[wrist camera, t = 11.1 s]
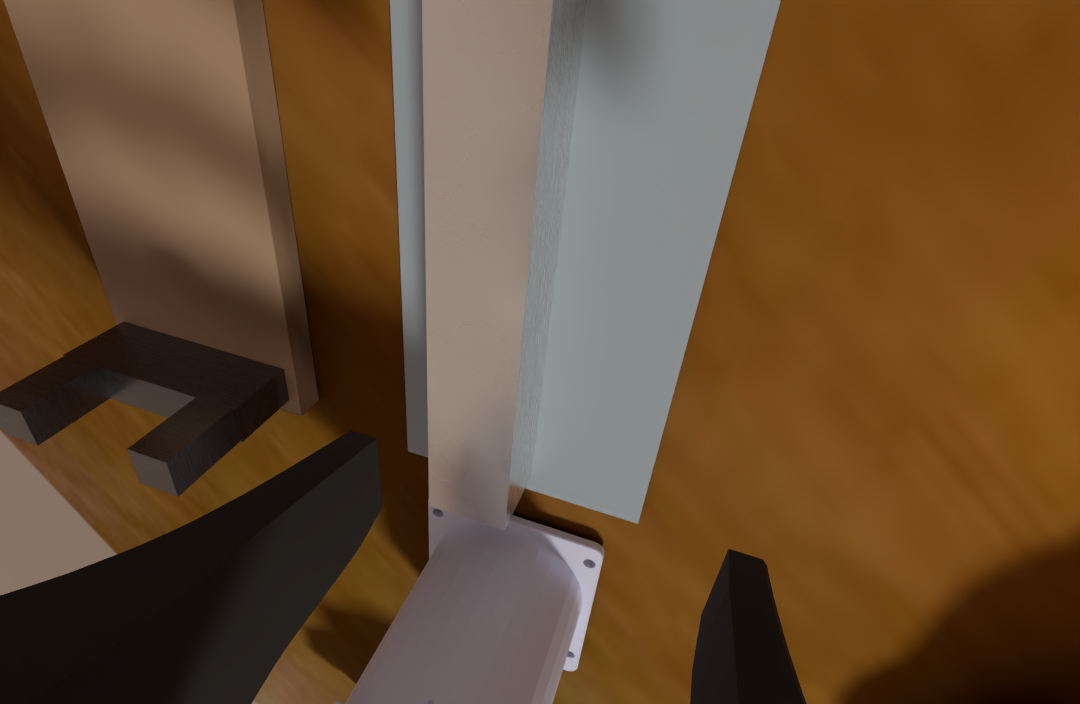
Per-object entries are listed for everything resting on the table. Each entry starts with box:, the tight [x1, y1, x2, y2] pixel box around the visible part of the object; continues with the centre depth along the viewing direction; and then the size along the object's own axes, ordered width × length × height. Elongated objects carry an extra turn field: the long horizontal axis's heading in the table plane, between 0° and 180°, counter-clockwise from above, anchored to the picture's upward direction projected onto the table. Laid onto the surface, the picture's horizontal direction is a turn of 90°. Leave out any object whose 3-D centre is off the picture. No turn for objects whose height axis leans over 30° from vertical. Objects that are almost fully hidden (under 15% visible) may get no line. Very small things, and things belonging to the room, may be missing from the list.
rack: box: [0, 0, 319, 496], centre depth 19 cm, size 22×9×7 cm, turn 174°
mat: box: [390, 0, 781, 524], centre depth 19 cm, size 24×10×1 cm, turn 174°
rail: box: [422, 0, 588, 531], centre depth 17 cm, size 22×3×3 cm, turn 174°
